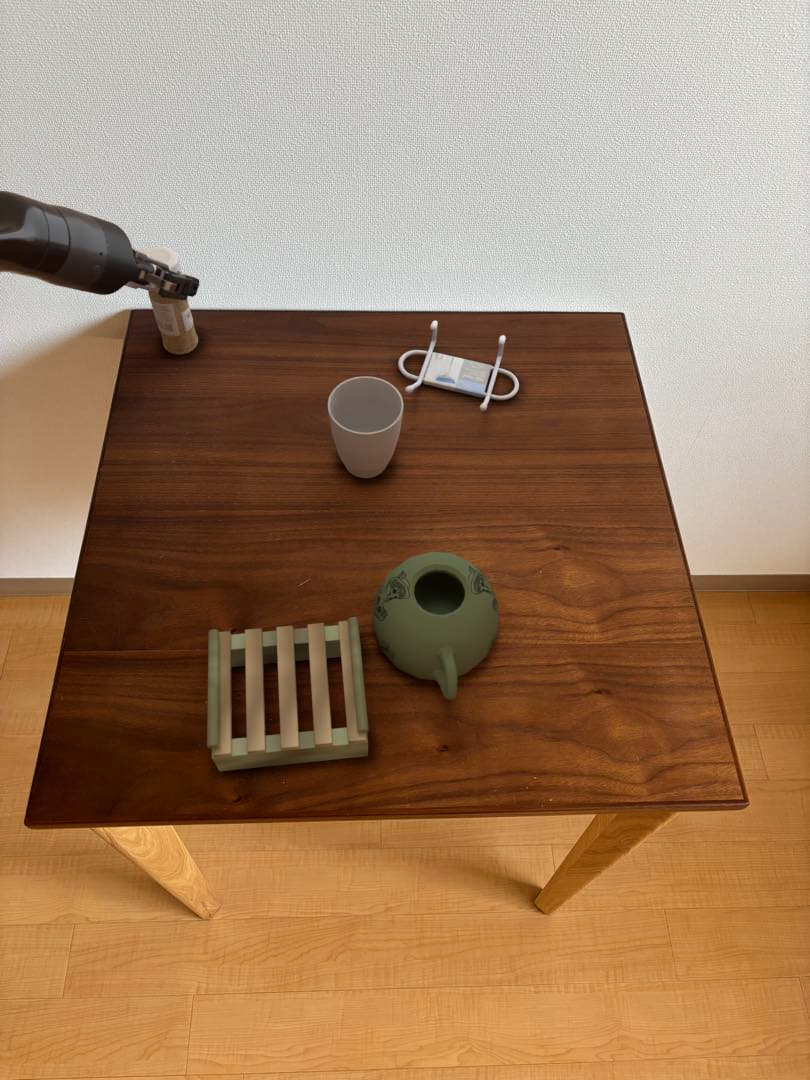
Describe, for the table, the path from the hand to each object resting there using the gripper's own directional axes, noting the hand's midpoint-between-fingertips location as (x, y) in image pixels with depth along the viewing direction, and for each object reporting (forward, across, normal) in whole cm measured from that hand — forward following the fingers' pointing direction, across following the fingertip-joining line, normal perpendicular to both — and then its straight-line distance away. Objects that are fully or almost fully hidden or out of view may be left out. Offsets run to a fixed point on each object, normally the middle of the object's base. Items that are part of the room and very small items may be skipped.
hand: (175, 278), depth 98 cm
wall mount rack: (+14, -34, -1) cm, 36 cm away
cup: (+3, -30, +10) cm, 32 cm away
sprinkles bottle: (+5, 0, +8) cm, 10 cm away
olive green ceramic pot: (-8, -49, +21) cm, 54 cm away
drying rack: (-17, -40, +30) cm, 53 cm away
